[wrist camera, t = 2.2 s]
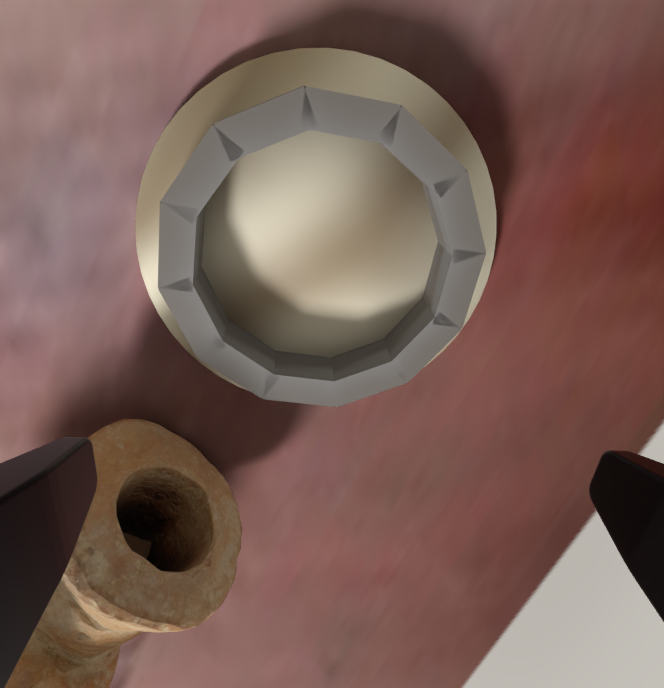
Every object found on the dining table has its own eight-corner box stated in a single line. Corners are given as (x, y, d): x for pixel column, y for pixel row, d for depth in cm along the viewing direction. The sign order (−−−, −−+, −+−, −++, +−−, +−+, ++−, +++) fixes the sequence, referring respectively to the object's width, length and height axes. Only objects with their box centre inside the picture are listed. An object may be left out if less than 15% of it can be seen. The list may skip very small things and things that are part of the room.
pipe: (270, 475, 26) (259, 682, 17) (107, 641, 31) (32, 869, 22) (106, 381, 23) (-13, 574, 14) (-45, 583, 28) (-205, 821, 19)
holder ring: (72, 275, 20) (44, 300, 18) (288, -58, 16) (288, -82, 14) (339, 444, 25) (344, 481, 23) (561, 223, 21) (595, 241, 18)
